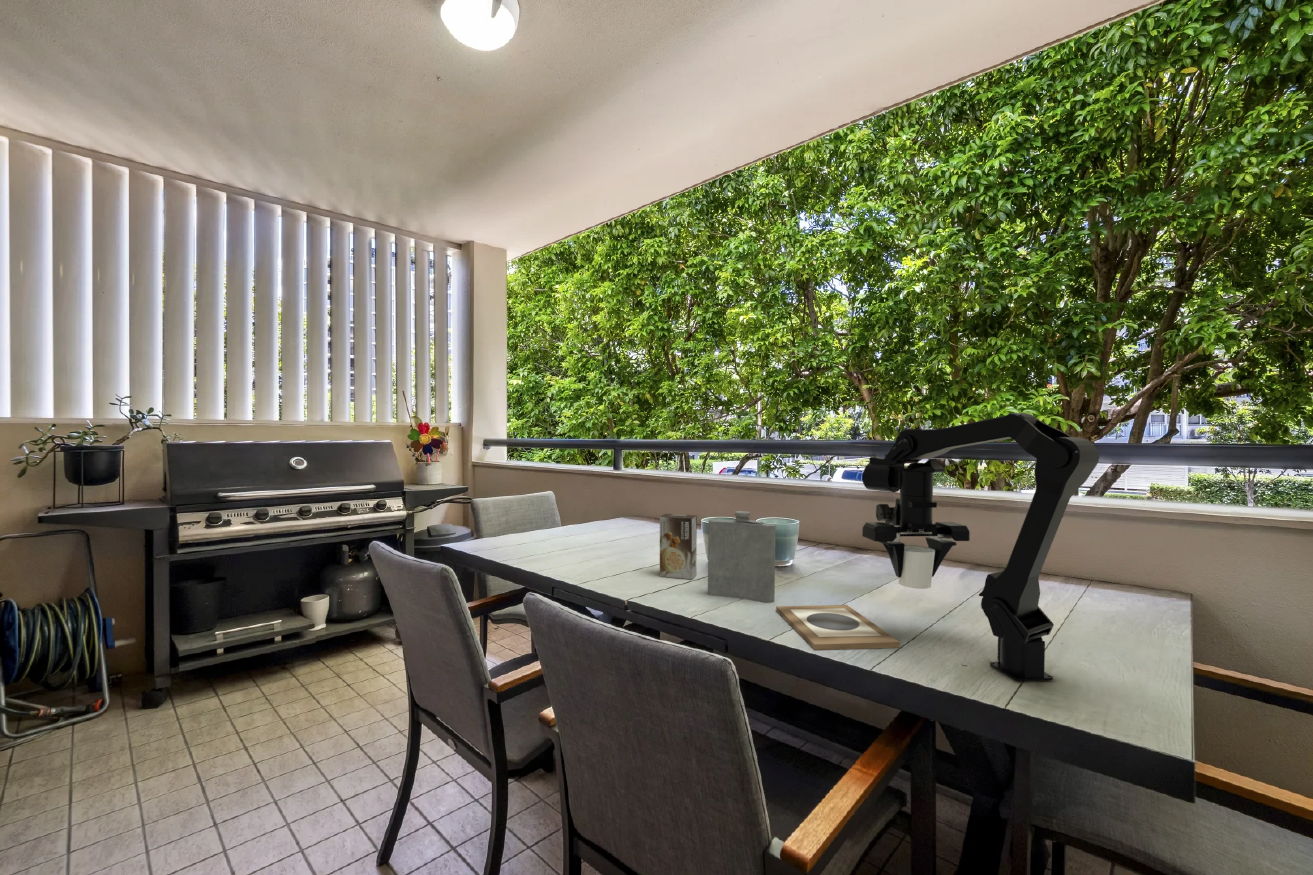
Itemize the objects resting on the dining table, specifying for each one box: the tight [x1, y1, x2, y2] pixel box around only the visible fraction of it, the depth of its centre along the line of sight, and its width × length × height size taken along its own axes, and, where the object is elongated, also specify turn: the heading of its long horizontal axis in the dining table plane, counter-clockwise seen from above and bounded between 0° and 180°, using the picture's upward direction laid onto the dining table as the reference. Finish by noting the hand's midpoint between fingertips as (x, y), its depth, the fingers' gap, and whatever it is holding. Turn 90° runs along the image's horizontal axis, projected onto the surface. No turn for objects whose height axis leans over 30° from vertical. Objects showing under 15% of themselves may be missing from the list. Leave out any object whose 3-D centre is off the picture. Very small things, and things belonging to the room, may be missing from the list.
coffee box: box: [659, 513, 698, 580], centre depth 153 cm, size 9×6×16 cm
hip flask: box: [707, 510, 777, 604], centre depth 134 cm, size 16×4×20 cm, turn 66°
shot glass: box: [897, 544, 935, 590], centre depth 109 cm, size 7×7×7 cm
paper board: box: [775, 604, 901, 651], centre depth 114 cm, size 22×16×1 cm
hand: (914, 576), depth 109 cm, fingers closed on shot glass, 6 cm apart
